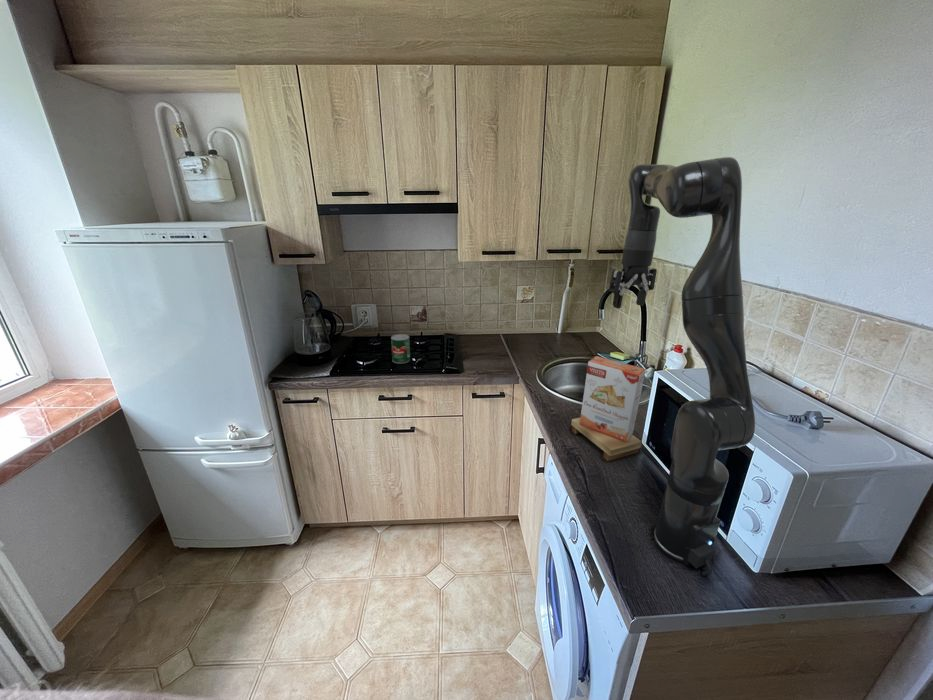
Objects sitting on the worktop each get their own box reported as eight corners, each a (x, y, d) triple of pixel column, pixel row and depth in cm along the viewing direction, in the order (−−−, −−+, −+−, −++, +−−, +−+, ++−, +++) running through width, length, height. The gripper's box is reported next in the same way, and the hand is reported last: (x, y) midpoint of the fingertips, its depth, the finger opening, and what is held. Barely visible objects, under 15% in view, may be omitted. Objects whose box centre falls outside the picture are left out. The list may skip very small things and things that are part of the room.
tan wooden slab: (639, 453, 107) (642, 441, 106) (609, 462, 103) (611, 450, 102) (598, 423, 122) (600, 412, 121) (570, 430, 118) (571, 419, 117)
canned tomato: (393, 364, 165) (392, 340, 161) (391, 358, 172) (389, 334, 168) (411, 362, 167) (410, 338, 163) (408, 356, 174) (407, 333, 170)
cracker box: (578, 425, 113) (587, 360, 106) (587, 417, 118) (596, 354, 110) (626, 443, 105) (639, 374, 97) (633, 434, 109) (646, 367, 102)
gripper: (629, 250, 96) (618, 312, 102) (670, 248, 101) (657, 307, 107) (608, 246, 102) (599, 305, 108) (647, 245, 107) (637, 301, 113)
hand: (628, 306), depth 108 cm, fingers open, 8 cm apart
